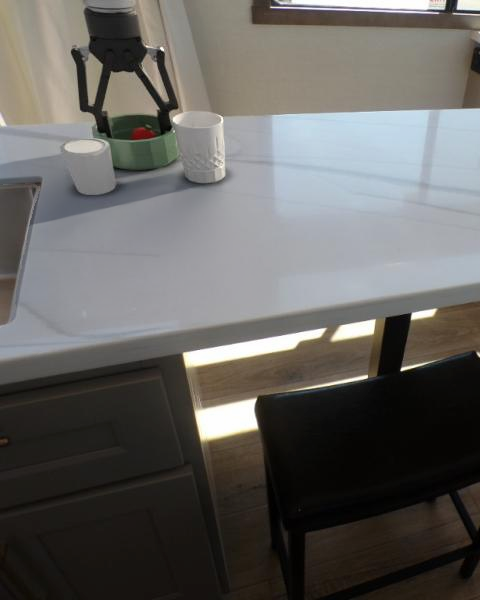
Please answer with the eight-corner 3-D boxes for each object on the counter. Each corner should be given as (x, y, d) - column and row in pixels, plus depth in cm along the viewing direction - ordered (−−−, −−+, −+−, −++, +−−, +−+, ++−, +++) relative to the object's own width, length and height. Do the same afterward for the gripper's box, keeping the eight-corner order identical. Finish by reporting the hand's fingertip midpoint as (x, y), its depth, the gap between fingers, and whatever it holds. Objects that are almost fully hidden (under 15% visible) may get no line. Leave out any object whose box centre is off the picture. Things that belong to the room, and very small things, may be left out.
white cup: (204, 189, 88) (195, 131, 82) (171, 175, 91) (161, 118, 84) (238, 175, 93) (233, 119, 87) (207, 162, 96) (199, 107, 90)
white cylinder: (126, 190, 85) (116, 149, 81) (81, 200, 81) (68, 158, 77) (110, 174, 89) (100, 134, 84) (66, 183, 85) (53, 142, 80)
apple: (122, 146, 93) (129, 120, 90) (139, 144, 97) (146, 119, 94) (143, 158, 92) (150, 133, 90) (159, 156, 96) (166, 131, 94)
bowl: (82, 161, 91) (73, 131, 88) (135, 136, 102) (129, 108, 98) (148, 178, 89) (142, 148, 85) (196, 151, 99) (192, 123, 96)
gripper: (27, 10, 74) (73, 161, 88) (183, 15, 81) (202, 153, 95) (33, -1, 79) (76, 143, 93) (179, 5, 87) (198, 138, 101)
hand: (140, 148), depth 94 cm, fingers open, 8 cm apart
